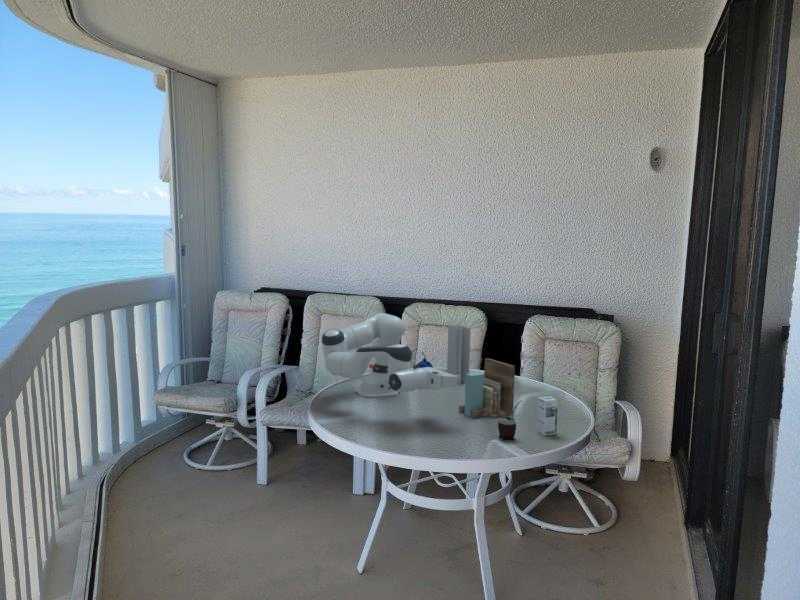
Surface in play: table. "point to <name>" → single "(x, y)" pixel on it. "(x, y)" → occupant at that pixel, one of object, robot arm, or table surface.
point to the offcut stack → (491, 395)
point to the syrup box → (547, 415)
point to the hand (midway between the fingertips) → (453, 374)
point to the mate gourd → (507, 426)
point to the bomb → (423, 364)
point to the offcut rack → (506, 377)
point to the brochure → (458, 351)
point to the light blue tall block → (473, 392)
